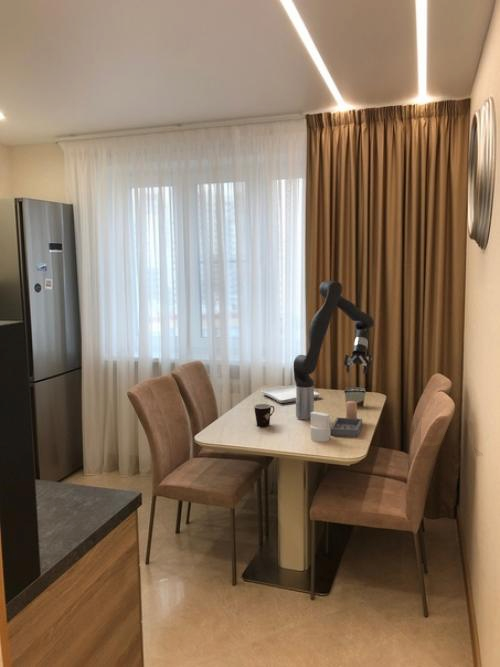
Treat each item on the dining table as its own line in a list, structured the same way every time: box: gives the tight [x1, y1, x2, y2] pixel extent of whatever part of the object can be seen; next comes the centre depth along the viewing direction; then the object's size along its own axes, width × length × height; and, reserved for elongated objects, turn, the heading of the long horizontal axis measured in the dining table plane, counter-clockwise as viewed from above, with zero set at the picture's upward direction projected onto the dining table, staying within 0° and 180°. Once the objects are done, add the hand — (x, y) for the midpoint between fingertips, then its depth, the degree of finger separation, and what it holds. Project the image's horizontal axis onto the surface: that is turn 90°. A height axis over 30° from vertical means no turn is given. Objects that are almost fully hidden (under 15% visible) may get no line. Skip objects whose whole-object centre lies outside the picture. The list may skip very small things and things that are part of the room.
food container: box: [343, 386, 367, 408], centre depth 309 cm, size 12×6×10 cm, turn 84°
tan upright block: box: [345, 401, 358, 419], centre depth 280 cm, size 5×5×10 cm
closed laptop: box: [260, 384, 321, 404], centre depth 333 cm, size 27×27×4 cm
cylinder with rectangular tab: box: [309, 411, 331, 443], centre depth 256 cm, size 9×9×12 cm
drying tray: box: [330, 416, 363, 438], centre depth 266 cm, size 18×13×5 cm
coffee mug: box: [253, 403, 275, 428], centre depth 279 cm, size 12×9×10 cm
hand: (356, 372), depth 288 cm, fingers open, 8 cm apart
